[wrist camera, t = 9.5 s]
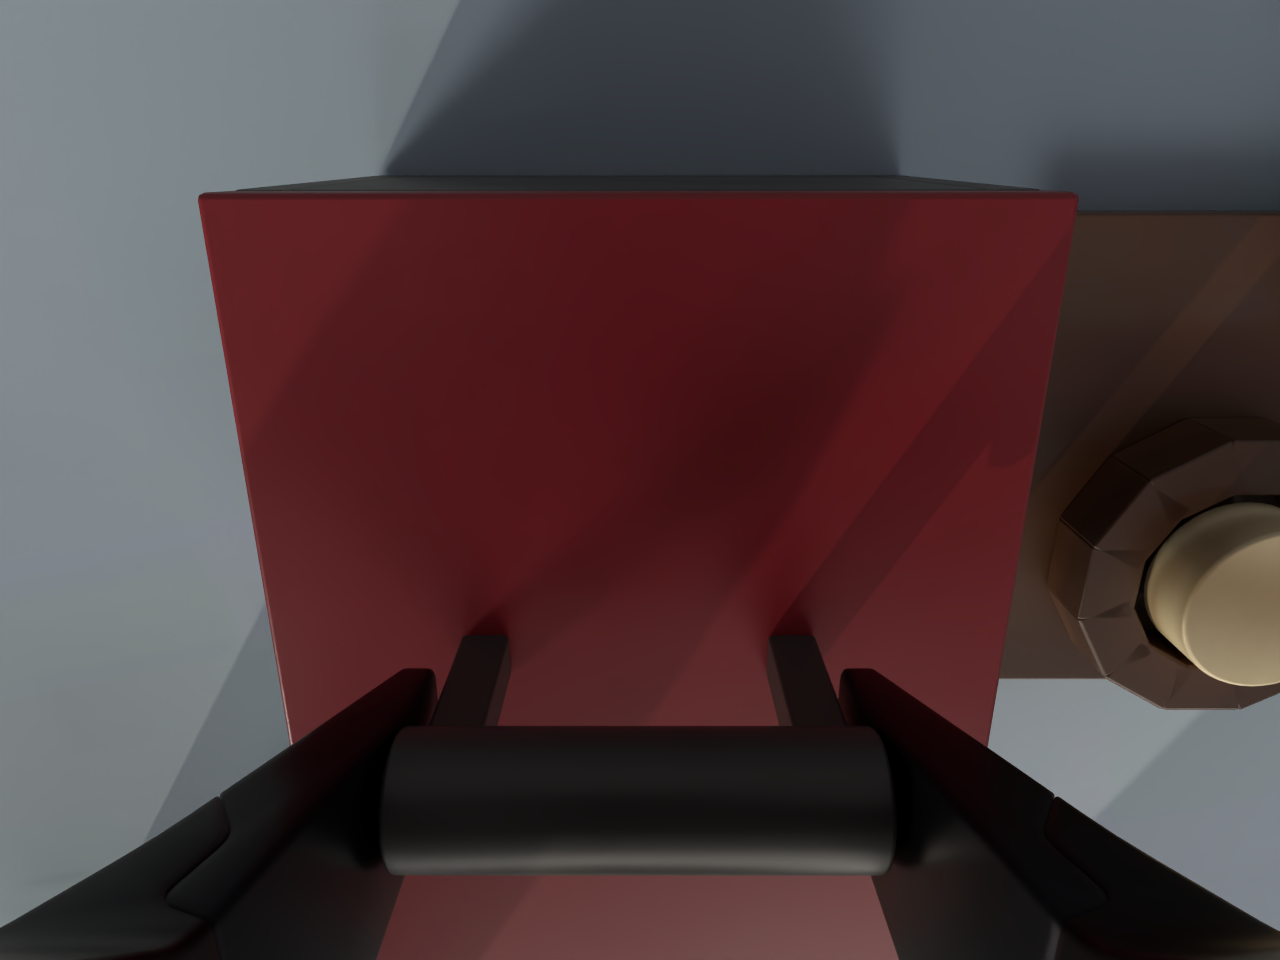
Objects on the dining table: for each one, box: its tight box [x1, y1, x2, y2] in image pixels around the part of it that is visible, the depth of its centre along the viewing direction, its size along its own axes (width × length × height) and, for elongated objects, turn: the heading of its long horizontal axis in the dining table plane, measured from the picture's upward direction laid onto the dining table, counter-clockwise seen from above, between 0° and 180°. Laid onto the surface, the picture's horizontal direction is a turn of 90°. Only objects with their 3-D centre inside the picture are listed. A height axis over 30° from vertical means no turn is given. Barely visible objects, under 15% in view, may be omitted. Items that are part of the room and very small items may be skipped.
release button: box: [1144, 502, 1280, 686], centre depth 18 cm, size 4×4×2 cm
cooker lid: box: [198, 191, 1079, 960], centre depth 11 cm, size 13×11×5 cm
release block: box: [999, 211, 1280, 710], centre depth 19 cm, size 11×8×2 cm
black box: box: [236, 175, 1041, 191], centre depth 17 cm, size 12×11×7 cm
